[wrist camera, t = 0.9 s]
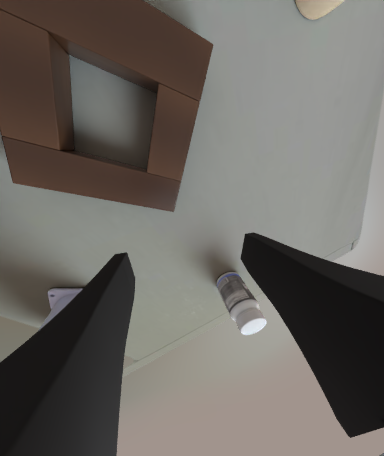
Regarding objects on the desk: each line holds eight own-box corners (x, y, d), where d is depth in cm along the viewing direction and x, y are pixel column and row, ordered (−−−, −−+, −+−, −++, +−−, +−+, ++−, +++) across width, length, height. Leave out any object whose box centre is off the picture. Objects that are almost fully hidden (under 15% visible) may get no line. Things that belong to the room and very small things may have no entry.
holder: (171, 204, 18) (173, 212, 15) (35, 178, 13) (12, 183, 11) (203, 62, 12) (213, 43, 10) (-6, -56, 8) (-65, -131, 6)
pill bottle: (240, 283, 28) (269, 328, 21) (218, 292, 28) (240, 341, 21) (237, 267, 26) (269, 312, 19) (213, 276, 26) (236, 326, 18)
